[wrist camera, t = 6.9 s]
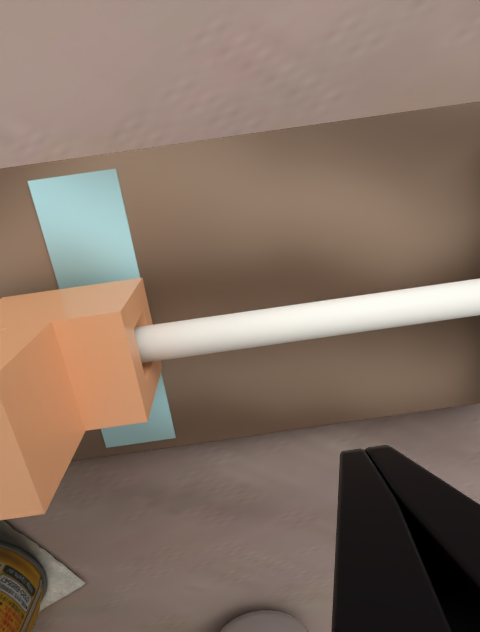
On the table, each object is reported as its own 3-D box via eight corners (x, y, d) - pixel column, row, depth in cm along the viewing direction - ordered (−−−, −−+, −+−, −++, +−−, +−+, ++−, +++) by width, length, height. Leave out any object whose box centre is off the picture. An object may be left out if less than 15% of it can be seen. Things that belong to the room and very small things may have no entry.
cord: (570, 293, 15) (600, 304, 13) (2, 373, 14) (-16, 391, 13) (575, 259, 14) (606, 268, 13) (-10, 342, 14) (-30, 358, 13)
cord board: (496, 380, 20) (519, 398, 18) (11, 449, 20) (-6, 473, 18) (523, 97, 15) (556, 90, 14) (-93, 183, 15) (-127, 186, 14)
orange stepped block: (162, 367, 16) (126, 502, 10) (33, 385, 16) (-88, 532, 10) (142, 277, 15) (85, 364, 8) (2, 297, 15) (-160, 399, 8)
